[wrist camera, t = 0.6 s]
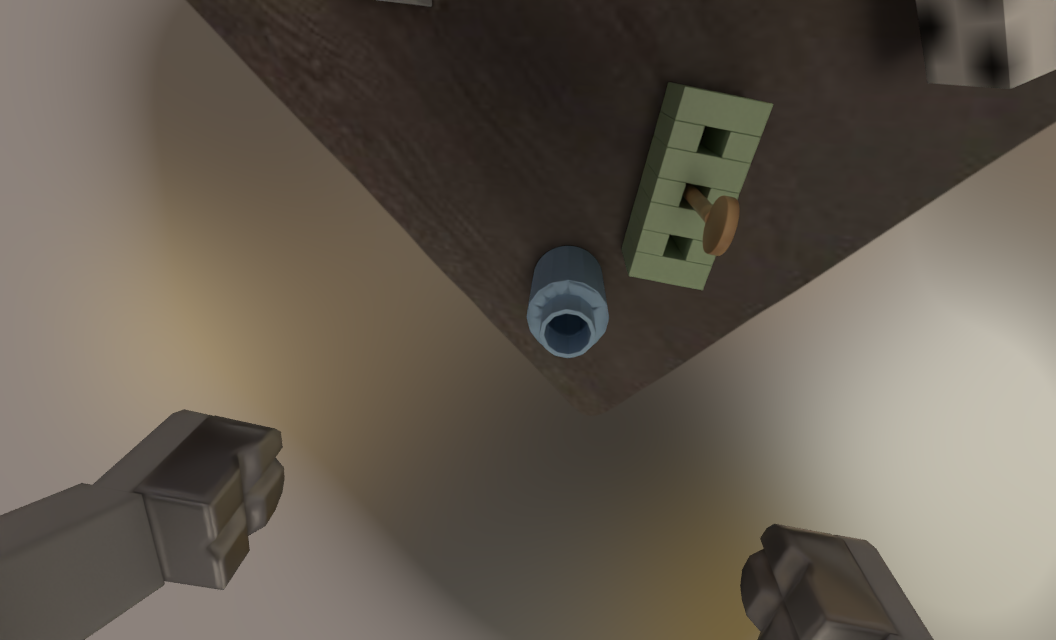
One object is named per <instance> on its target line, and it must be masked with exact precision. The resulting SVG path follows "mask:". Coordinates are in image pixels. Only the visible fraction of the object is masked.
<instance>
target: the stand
mask: <svg viewBox="0 0 1056 640" xmlns="http://www.w3.org/2000/svg"><path fill="white" fill-rule="evenodd" d="M772 107H773V104H772V103H768V102H764V101H759V100H755V99H751V98H746V97H742V96H737V95H732V94H727V93H722V92H717V91H712V90H707V89H702V88H697V87H692V86H687V85H682V84H677V83H673V82H668V85H667V89H666V92H665V96H664V100H663V103H662V107H661V112H660V114H659V117H658V121H657V124H656V128H655V131H654V135H653V139H652V142H651V146H650V149H649V153H648V156H647V160H646V161H647V162H646V163H645V167H644V170H643V174H642V177H641V181H640V185H639V188H638V192H637V195H636V199H635V202H634V206H633V209H632V213H631V216H630V220H629V223H628V228H627V231H626V234H625V238H624V241H623V245H622V248H621V250H622V253H623V257H624V261H625V264H626V268H627V272H628V275H629V276H631V277H637V278H642V279H647V280H652V281H657V282H662V283H668V284H673V285H678V286H683V287H688V288H693V289H698V290H703V288H704V285H705V283H706V280H707V277H708V275H709V272H710V270H711V267H712V266H711V265H712V264H713V262H714V259H715V255H710V254H707V253H705V252H704V249H703V231H704V227H705V222H704V221H703V220H702V218H701V217H700V216H699V215H698V214H697V212H696V211H695V210H694V209H693V207H692V206H691V205H690V204H689V203H688V201H687V200H686V199H685V198H684V196H683V192H684V189H685V186H686V183H690V184H693V185H694V186H695V187H696V188H697V189H698V190H699V191H700V192H701V193H702V194H703V195H704V196H705V197H706V198H707V199H708V200H709V201H710V202H711V204H712V205H713V204H714V202H715V201H716V200H717V199H718V198H719V197H720V196H723V195H725V196H730V197H734V198H736V199H738V196H739V193H740V191H741V188H742V185H743V183H744V180H745V178H746V175H747V172H748V170H749V167H750V163H751V162H752V159H753V157H754V154H755V151H756V149H757V146H758V144H759V141H760V137H761V136H762V133H763V130H764V128H765V125H766V122H767V120H768V117H769V115H770V112H771V109H772ZM705 126H707V127H706V130H705V133H704V136H703V139H702V142H701V144H699V143H700V140H701V137H702V134H703V131H704V128H705ZM669 234H671V236H670V235H669Z"/></svg>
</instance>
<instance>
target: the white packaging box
mask: <svg viewBox="0 0 1056 640" xmlns="http://www.w3.org/2000/svg"><path fill="white" fill-rule="evenodd" d="M378 1H387V2H396V3H405V4H414V5H422V6H429V7H432V0H378Z"/></svg>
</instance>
